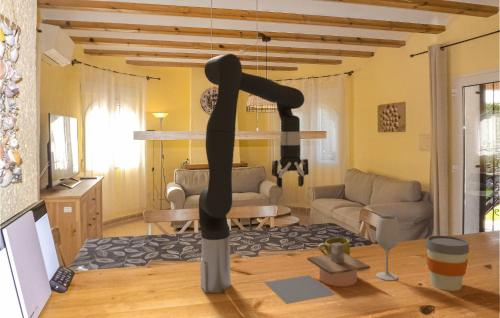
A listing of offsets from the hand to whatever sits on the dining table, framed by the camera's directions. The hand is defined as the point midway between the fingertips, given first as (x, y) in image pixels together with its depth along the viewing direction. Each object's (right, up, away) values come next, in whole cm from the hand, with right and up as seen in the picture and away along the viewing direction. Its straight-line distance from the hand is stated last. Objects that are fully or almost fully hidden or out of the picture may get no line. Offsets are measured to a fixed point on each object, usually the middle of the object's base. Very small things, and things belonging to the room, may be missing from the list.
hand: (290, 186), depth 143 cm
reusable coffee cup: (+49, -31, -18) cm, 61 cm away
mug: (+18, -30, +7) cm, 35 cm away
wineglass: (+33, -31, -10) cm, 46 cm away
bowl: (+15, -31, -14) cm, 37 cm away
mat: (0, -32, -21) cm, 38 cm away
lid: (+14, -25, -14) cm, 32 cm away
